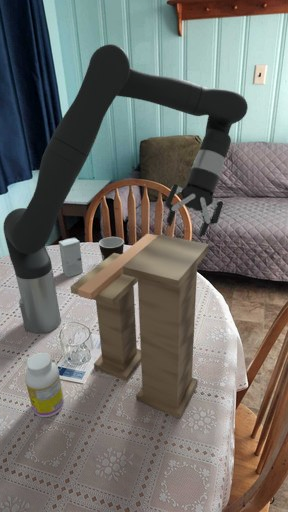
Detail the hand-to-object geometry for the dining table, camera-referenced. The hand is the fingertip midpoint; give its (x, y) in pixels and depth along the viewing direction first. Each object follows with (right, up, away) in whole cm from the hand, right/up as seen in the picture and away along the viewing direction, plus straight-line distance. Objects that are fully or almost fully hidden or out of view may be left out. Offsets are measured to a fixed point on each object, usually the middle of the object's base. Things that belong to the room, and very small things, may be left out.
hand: (184, 231), depth 93 cm
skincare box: (-35, -12, +32) cm, 50 cm away
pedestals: (-11, -34, -10) cm, 37 cm away
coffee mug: (-21, -10, +36) cm, 43 cm away
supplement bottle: (-31, -38, -17) cm, 52 cm away
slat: (-15, -8, -15) cm, 23 cm away
